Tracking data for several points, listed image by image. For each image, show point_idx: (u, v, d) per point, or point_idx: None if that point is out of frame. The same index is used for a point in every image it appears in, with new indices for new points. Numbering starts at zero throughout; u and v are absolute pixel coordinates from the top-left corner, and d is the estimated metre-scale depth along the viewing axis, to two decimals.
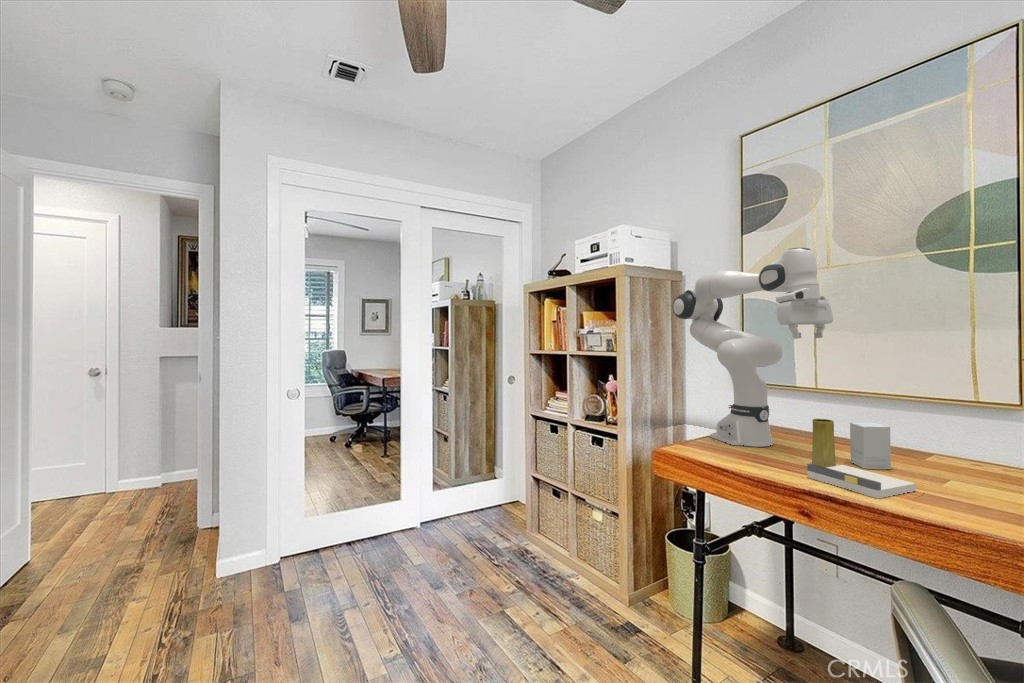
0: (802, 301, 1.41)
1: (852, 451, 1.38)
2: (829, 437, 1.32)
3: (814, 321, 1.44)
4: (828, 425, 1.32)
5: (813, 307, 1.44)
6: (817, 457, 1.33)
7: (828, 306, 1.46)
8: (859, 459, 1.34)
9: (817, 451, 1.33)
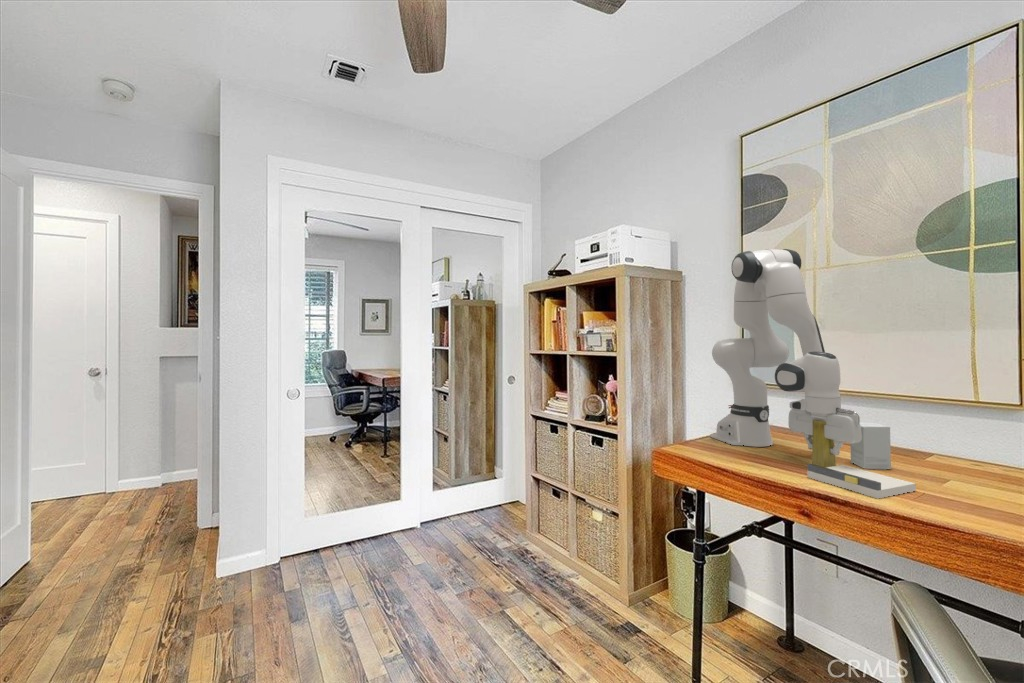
0: (802, 412, 1.37)
1: (852, 451, 1.38)
2: None
3: None
4: None
5: (825, 420, 1.32)
6: (817, 457, 1.33)
7: (846, 423, 1.26)
8: (859, 459, 1.34)
9: (817, 451, 1.33)
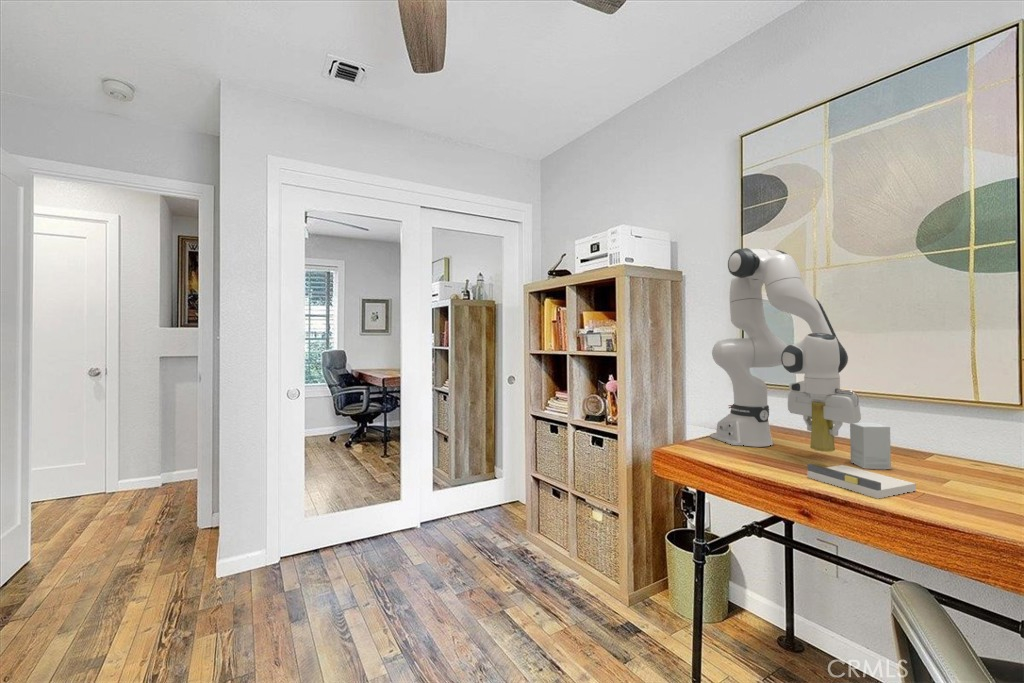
0: (801, 393, 1.37)
1: (852, 451, 1.38)
2: None
3: None
4: None
5: (824, 401, 1.32)
6: (816, 438, 1.33)
7: (845, 403, 1.26)
8: (859, 459, 1.34)
9: (816, 433, 1.34)
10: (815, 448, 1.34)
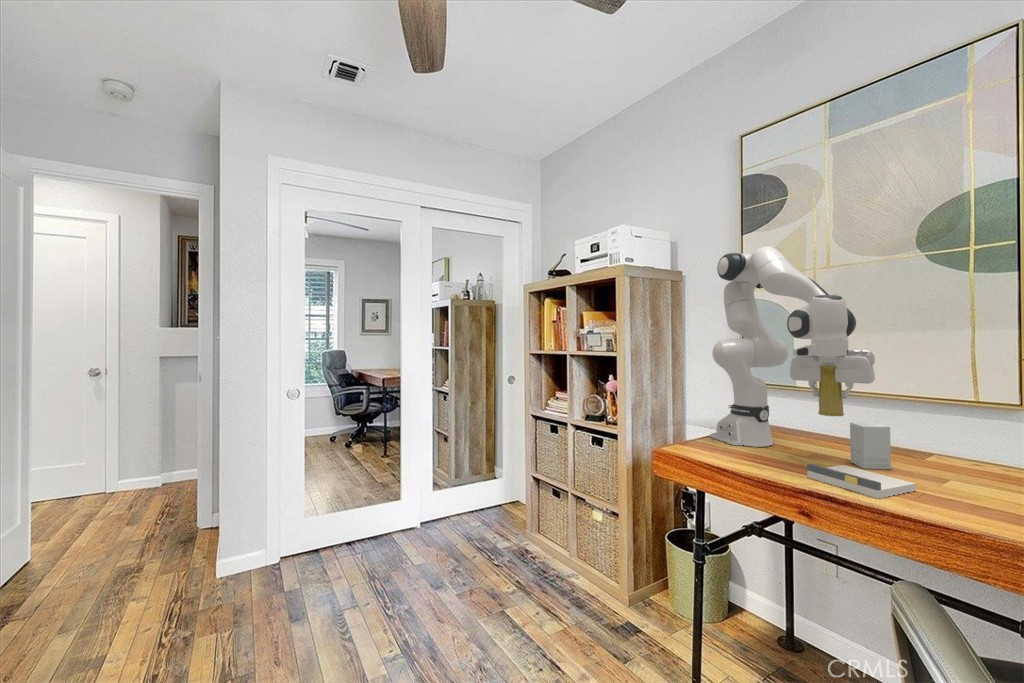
0: (809, 358, 1.32)
1: (852, 451, 1.38)
2: (839, 382, 1.28)
3: None
4: None
5: (835, 363, 1.28)
6: (828, 404, 1.28)
7: (862, 363, 1.23)
8: (859, 459, 1.34)
9: (827, 398, 1.28)
10: (827, 414, 1.28)
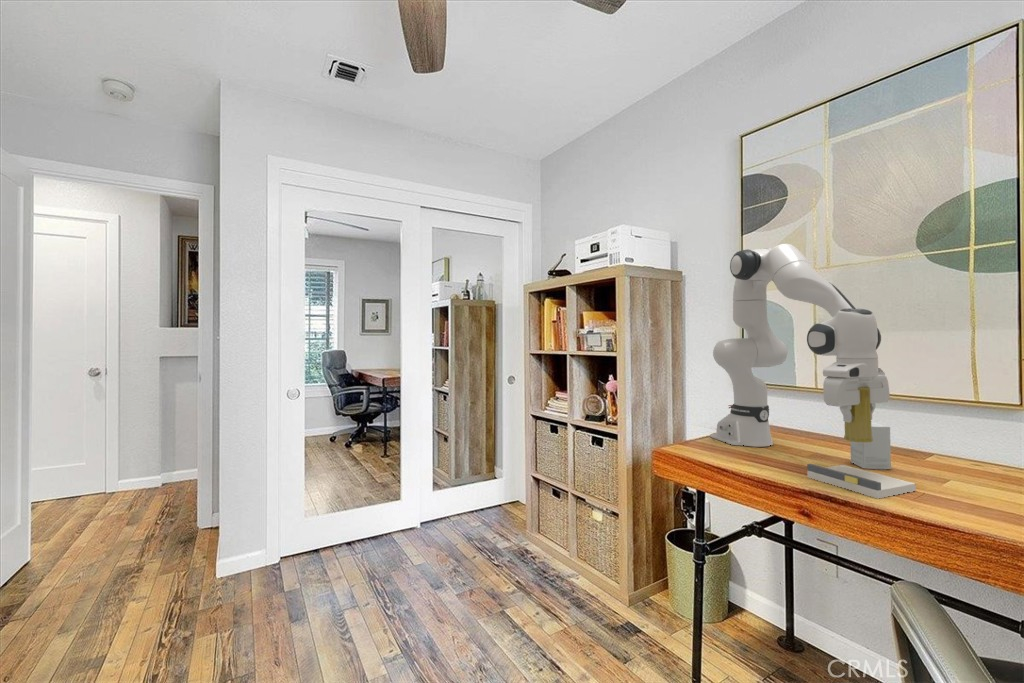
0: (856, 379, 1.15)
1: (852, 451, 1.38)
2: None
3: None
4: None
5: (868, 384, 1.18)
6: (869, 429, 1.16)
7: (885, 382, 1.20)
8: (859, 459, 1.34)
9: (868, 422, 1.16)
10: (870, 440, 1.16)
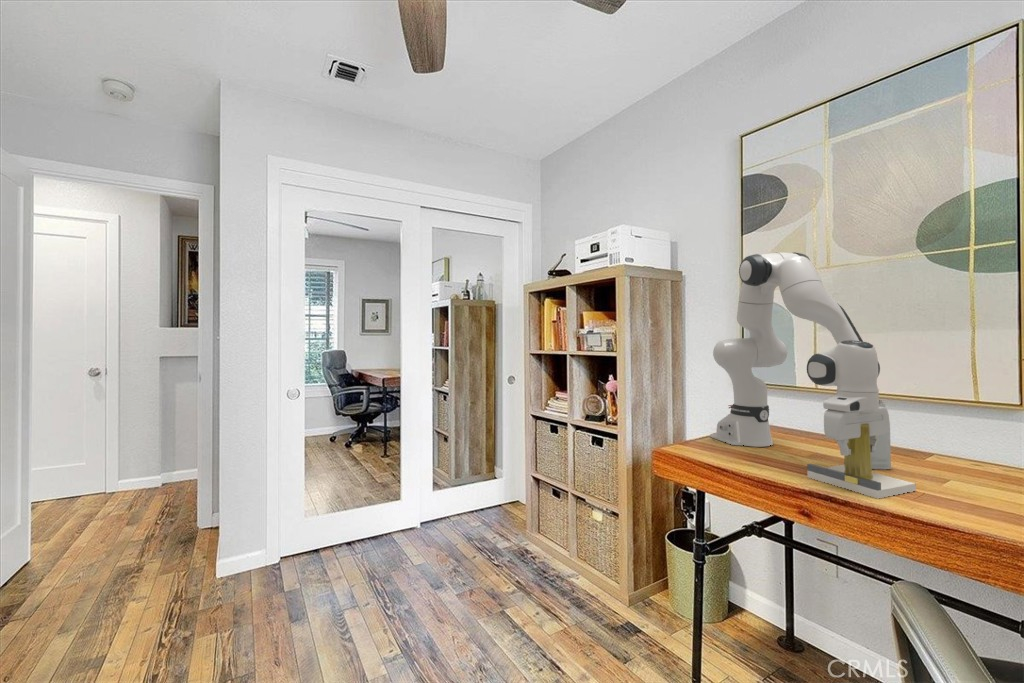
0: (857, 413, 1.15)
1: None
2: None
3: None
4: None
5: (868, 416, 1.18)
6: (869, 466, 1.17)
7: (886, 414, 1.20)
8: None
9: (868, 459, 1.17)
10: (870, 477, 1.16)
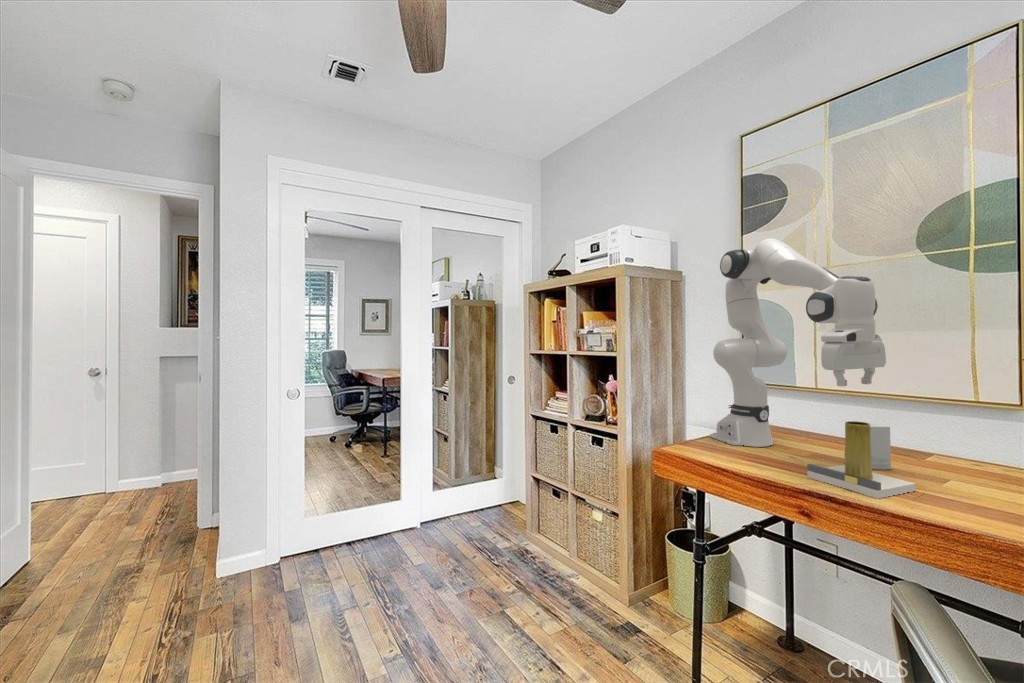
0: (853, 344, 1.19)
1: None
2: None
3: (864, 366, 1.22)
4: None
5: (865, 349, 1.22)
6: (869, 466, 1.17)
7: (882, 347, 1.24)
8: None
9: (868, 459, 1.17)
10: (870, 477, 1.16)
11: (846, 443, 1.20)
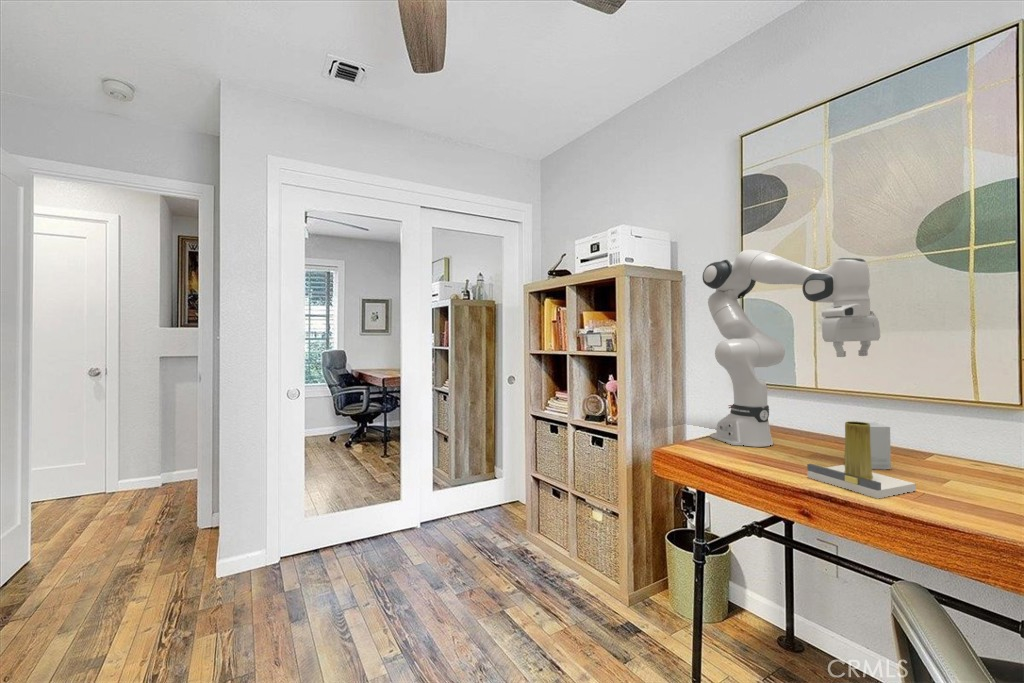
0: (851, 318, 1.31)
1: None
2: None
3: (861, 339, 1.34)
4: None
5: (861, 323, 1.34)
6: (869, 466, 1.17)
7: (876, 322, 1.36)
8: None
9: (868, 459, 1.17)
10: (870, 477, 1.16)
11: (846, 443, 1.20)
